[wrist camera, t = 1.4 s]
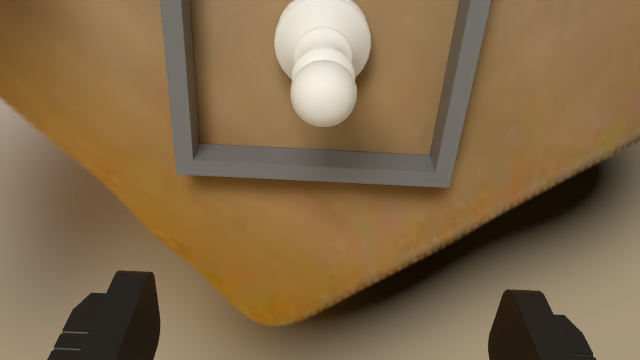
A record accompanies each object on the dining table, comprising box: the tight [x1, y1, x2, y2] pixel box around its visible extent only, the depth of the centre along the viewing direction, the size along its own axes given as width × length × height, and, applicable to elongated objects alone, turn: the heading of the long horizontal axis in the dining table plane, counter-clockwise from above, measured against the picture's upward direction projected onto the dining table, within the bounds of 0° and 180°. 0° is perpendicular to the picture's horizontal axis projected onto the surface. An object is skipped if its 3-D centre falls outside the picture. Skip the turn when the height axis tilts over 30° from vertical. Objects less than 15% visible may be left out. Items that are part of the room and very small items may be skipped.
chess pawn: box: [274, 0, 371, 127], centre depth 26 cm, size 5×5×9 cm
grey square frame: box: [160, 0, 491, 188], centre depth 29 cm, size 16×16×2 cm
